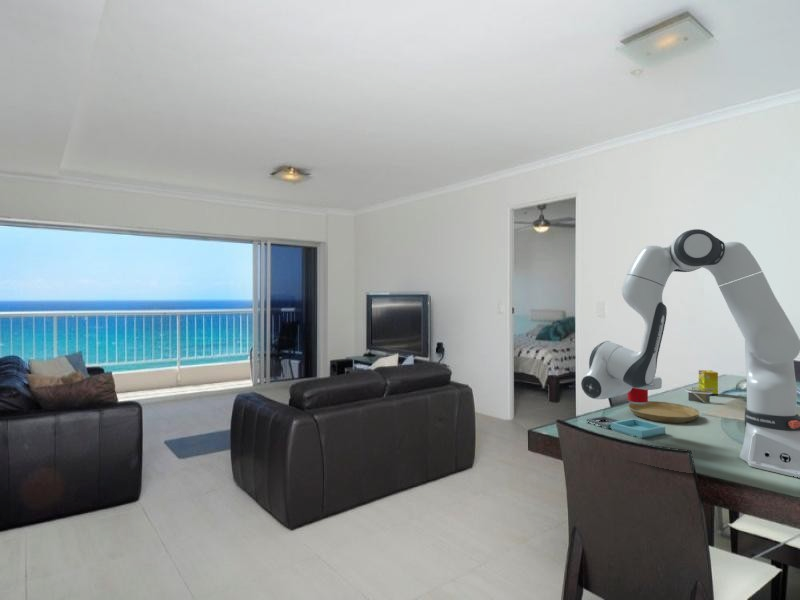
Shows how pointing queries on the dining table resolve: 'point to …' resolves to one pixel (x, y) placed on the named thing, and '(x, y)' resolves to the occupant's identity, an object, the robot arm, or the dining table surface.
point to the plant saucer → (664, 412)
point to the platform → (699, 395)
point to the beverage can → (638, 396)
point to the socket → (602, 419)
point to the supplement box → (708, 381)
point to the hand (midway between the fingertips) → (638, 377)
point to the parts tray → (638, 428)
